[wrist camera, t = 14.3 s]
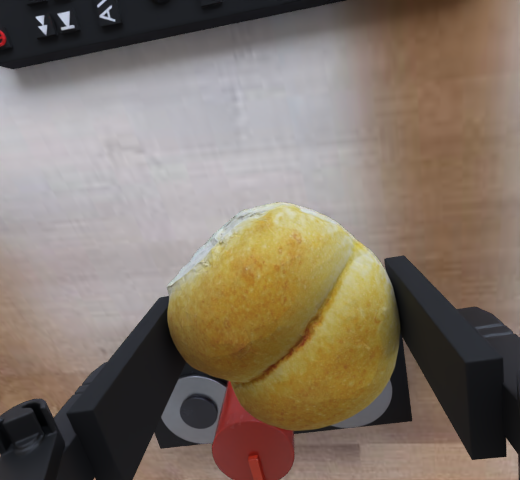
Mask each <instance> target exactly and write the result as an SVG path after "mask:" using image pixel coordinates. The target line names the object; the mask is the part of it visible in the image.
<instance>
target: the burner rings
mask: <svg viewBox="0 0 520 480" xmlns="http://www.w3.org/2000/svg"><path fill="white" fill-rule="evenodd" d="M226 387H227V385H226V384H224V383H223V382H221V381H220V380H218V379H216V378H213V377H210V376H206V375H201V374H191V375H185V376H181V377H179V379H178V381H177V383H176V386H175V388H174V390H173V392H172V394H171V397H170V399H169V401H168V403H167V405H166V407H165V410H164V412H163V414H162V416H161V418H162V420H163V422H164V423H165V425H166V426H167V427H168V428H169V429H170V430H171V431H172V432H173V433H174V434H175V435H177V436H179V437H180V438H182V439H184V440H187V441H190V442H194V443H201V444H208V443H213V440H214V436H215V432H216V428H217V424H218V420H219V415H220V411H221V407H222V403H223V399H224V395H225V391H226ZM391 398H392V385H391V381H390V380H389V381H388V383H387V385H386V387H385V388H384V390H383V391H382V393H381V394H380V395H379V396H378V397H377V398H376V399H375V400H374V401H373V402H372V403H371V404H370V405H369V406H367V407H366V408H365V409H363V410H362V411H360V412H359V413H357V414H355V415H354V416H352V417H350V418H348V419H346V420H344V421H341V422H339V423H337V424H333V425H331V426H335V427H340V428H354V427H360V426H364V425H366V424H369V423H371V422H373V421H374V420H376V419H377V418H379V417H380V416H381V415H382V414H383V413H384V412H385V411H386V409H387V408H388V406H389V404H390V401H391Z"/></svg>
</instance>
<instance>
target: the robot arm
mask: <svg viewBox="0 0 520 480" xmlns="http://www.w3.org/2000/svg"><path fill="white" fill-rule="evenodd" d="M385 267H386V272H387V274H388V277H389V279H390V281H391V283H392V286H393V289H394V293H395V297H396V302H397V306H398V311H399V317H400V329H401V330H400V333H401V335H402V337H403V339H404V340H405V342H406V344H407V346H408V348H409V349H410V351H411V353H412V355H413V356H414V358H415V360H416V362H417V363H418V365H419V367H420V369H421V370H422V372H423V374H424V376H425V378H426V379H427V381H428V383H429V385H430V386H431V388H432V390H433V392H434V393H435V395H436V397H437V399H438V401H439V402H440V404H441V406H442V408H443V409H444V411H445V413H446V415H447V416H448V418H449V420H450V422H451V423H452V425H453V427H454V429H455V431H456V432H457V434H458V436H459V438H460V439H461V441H462V443H463V445H464V446H465V448H466V450H467V452H468V454H469V455H470V457H471V459H472V460H475V459H486V458H498V457H506V438H507V439H508V441H509V442H510V444H511V445H512V446H513V448H514V449H515V450H516V452H517V453H518V466H519V480H520V338H519V337H518V336H517V335H516V334H513V332H512V331H511V330H510V329H509V328H508V327H507V326H504V324H503V323H502V322H501V321H500V320H499V319H497V318H496V317H495V316H494V315H493V314H491V313H489V312H487V311H484V310H482V309H480V308H478V307H469V308H463V309H456V308H455V307H454V306H453V305H452V304H451V303H450V302H449V301H448V300H447V299H446V298H445V297H444V296H443V295H442V294H441V293H440V292H439V291H438V290H437V289H436V288H435V287H434V286H433V285H432V284H431V283H430V282H429V281H428V280H427V279H426V278H425V277H424V276H423V274H422V273H421V272H420V271H419V270H418V269H417V268H416V267H415V266H414V265H413V264H412V263H411V262H410V261H409V260H408V259H407V258H406V257H405V256H398V257H392V258H386V259H385ZM168 304H169V296H167V297H161V298H159V299H158V300H157V302H156V303H155V304H154V305H153V306H152V308H151V309H150V310H149V311H148V313H147V314H146V315H145V316H144V318H143V319H142V320H141V321H140V322H139V324H138V325H137V326H136V327H135V329H134V330H133V331H132V332H131V334H130V335H129V336H128V337H127V339H126V340H125V341H124V342H123V343H122V345H121V346H120V347H119V348H118V350H117V351H116V352H115V353H114V355H113V356H112V357H111V358H110V360H109V361H108V362H106V363H104V364H102V365H101V366H100V367H98V368H97V369H96V370H95V371H93V372H92V373H91V374H90V375H89V376H88V378H87V379H86V380H85V381H84V382H83V384H82V386H80V387H79V388H78V389H77V391H76V392H75V395H72V397H71V398H70V399H69V400H68V401H67V403H66V404H65V405H64V406H63V407H62V408H61V410H60V411H59V412H58V413H57V414H56V416H55V417H54V418H53V416H52V414H51V412H50V410H49V408H48V405H47V403H46V401H44V400H43V399H32V400H29V401H26V402H23V403H21V404H19V405H17V406H15V407H13V408H11V409H10V410H8V411H6V412H5V413H3V414H2V415H1V416H0V454H1V457H0V480H93V479H94V477H95V478H96V480H132V479H133V477H134V475H135V473H136V471H137V468H138V466H139V464H140V462H141V460H142V458H143V455H144V453H145V451H146V449H147V447H148V444H149V442H150V440H151V438H152V436H153V434H154V431H155V429H156V427H157V425H158V423H159V420H160V418H161V416H162V414H163V412H164V410H165V407H166V405H167V403H168V401H169V399H170V397H171V394H172V392H173V390H174V388H175V386H176V383H177V381H178V379H179V377H180V375H181V373H182V370H183V368H184V366H185V364H186V361H185V360H184V358H183V357H182V356H181V354H180V353H179V351H178V350H177V348H176V346H175V344H174V343H173V340H172V337H171V335H170V331H169V327H168V322H167V311H168Z"/></svg>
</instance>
